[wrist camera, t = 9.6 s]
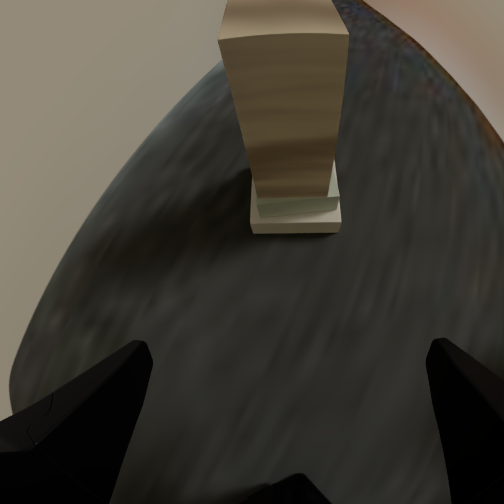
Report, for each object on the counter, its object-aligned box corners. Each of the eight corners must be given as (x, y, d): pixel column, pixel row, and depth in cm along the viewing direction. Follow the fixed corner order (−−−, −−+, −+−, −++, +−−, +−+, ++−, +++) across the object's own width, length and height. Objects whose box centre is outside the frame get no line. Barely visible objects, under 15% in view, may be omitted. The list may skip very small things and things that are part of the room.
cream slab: (337, 235, 24) (341, 222, 22) (254, 236, 25) (249, 223, 23) (330, 167, 27) (332, 150, 24) (257, 168, 28) (253, 152, 25)
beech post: (327, 196, 21) (349, 34, 8) (257, 198, 21) (217, 39, 9) (320, 143, 22) (327, -7, 10) (258, 145, 23) (227, -2, 11)
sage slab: (336, 209, 22) (339, 196, 20) (259, 217, 23) (256, 204, 21) (322, 150, 25) (324, 135, 23) (254, 157, 25) (251, 142, 23)
